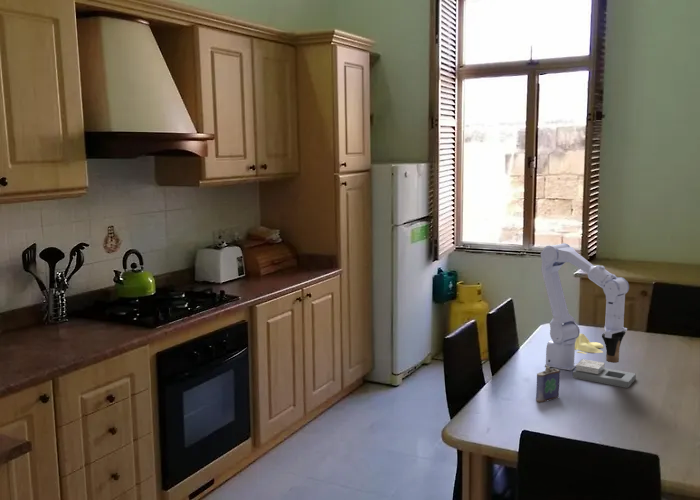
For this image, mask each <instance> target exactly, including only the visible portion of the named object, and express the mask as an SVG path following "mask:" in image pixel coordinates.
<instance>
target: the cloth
mask: <svg viewBox="0 0 700 500" xmlns="http://www.w3.org/2000/svg"><path fill="white" fill-rule="evenodd" d="M602 349H604V345H603V344H602V343H600V342H595V341H592V342H591V341H590V340H589V339H588V337H587V336H586V335H585V334H584V333H580V334H579V337H578V338H576V342H575V351H576V350H577V351H576V353H577V354H583V355H588V353H591V354H600V353H602V354H603V353H604V351H603V350H602ZM578 350H579V351H578Z"/></svg>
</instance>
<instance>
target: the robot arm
mask: <svg viewBox="0 0 700 500" xmlns="http://www.w3.org/2000/svg"><path fill="white" fill-rule="evenodd" d="M540 258H541V267H540V268H541V274H542V277H543V282H544V286H545V290H546V293H547V298H548V301H549V306H550V310H551V314H552V319H551V321H550V322H549V327H550V330H549V331H550V332H549V335H550V338H551V339H550V340H548V341H547V343H546V350H545V364H544V366H545V367H547V365H548V366H549V367H550V368H554V369H558V370H560V369H561V370H564V371H565V370H566V371H572V370H573V369H574V370H575V369H576V364H578V362H577V363H576V362H575V355H576V354H575V352H576V350H575V342H576V338H578V337H579V334H581V330H580V327H579V325H578V324H577V323H576V319H575V317H573V316H572V315H571V314H570V312H569V309H568V305H567V302H566V298H565V293H564V290H563V286H562V283H561V282H562V281H561V278H560V275H559V270H560V269H561V268H562V266H563V265H565V263H570V264H571V265H573V266H575V267H576V268H578V269H580V270H581V271H582V272H585V273H586V274H587V278H588V279H589V280H590V281H591V282H593V283H594V284H596V285H597V286H598V287H600V288H601V289H602V291H603V293H604V295H605V300H606V301H605V319H604V320H605V321H604V322H605V323H604V326H603V327H604V328H603V329H604V333H602V334H601V338H602V340H603V342H604V345H605V349H606V351H607V355H609V356H614V355H615V352H616V347H617V344H618V341H620V345H621V344H622V341H623V339H624V336H625V335H626V333H627V331H628V328H627V327H624V322H625V320H624V319H625V305H626V303H625V301H626V294H627V293H628V292H629V290H630V284H629V282H628V280H626V279H625V278H624V277H623V276H622V277H621V276H620V277H619V276H616V274H615V273H611V272H610V271H608V270H607V269H605V268H606V267H605V266H604V265H600V264H597V265H594V264H592V263H591V262H590V261H588V260H587V259H586V258H585V257H584V256H582V255H581V254H579V253H578V252H577V251H576V250H575V248H574V247H573V246H570V244H568V243H565V242H564V243H559V244H554V245H546V246H545V247H544V248H543V249H542V250H541V252H540Z"/></svg>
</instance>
